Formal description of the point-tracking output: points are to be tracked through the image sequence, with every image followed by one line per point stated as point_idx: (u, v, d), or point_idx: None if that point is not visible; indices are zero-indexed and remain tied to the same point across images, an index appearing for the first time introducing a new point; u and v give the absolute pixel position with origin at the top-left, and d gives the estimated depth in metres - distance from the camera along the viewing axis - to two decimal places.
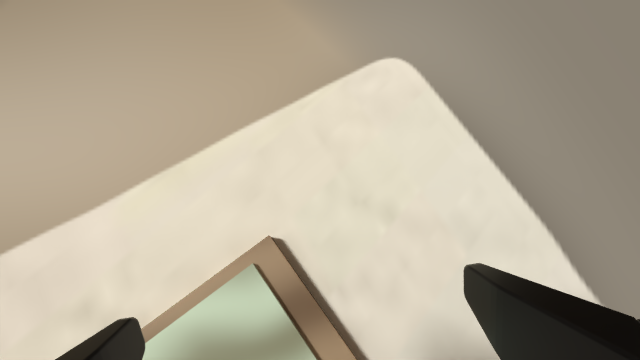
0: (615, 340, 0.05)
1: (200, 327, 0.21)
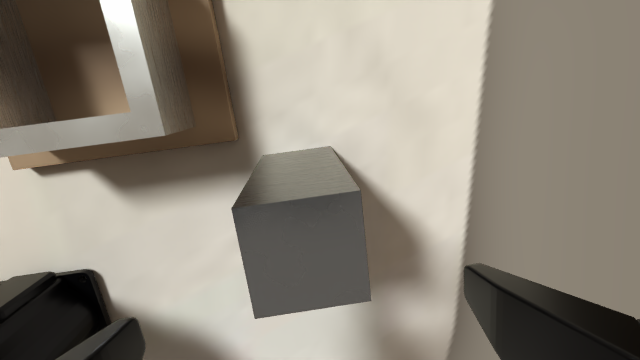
0: (615, 340, 0.05)
1: None
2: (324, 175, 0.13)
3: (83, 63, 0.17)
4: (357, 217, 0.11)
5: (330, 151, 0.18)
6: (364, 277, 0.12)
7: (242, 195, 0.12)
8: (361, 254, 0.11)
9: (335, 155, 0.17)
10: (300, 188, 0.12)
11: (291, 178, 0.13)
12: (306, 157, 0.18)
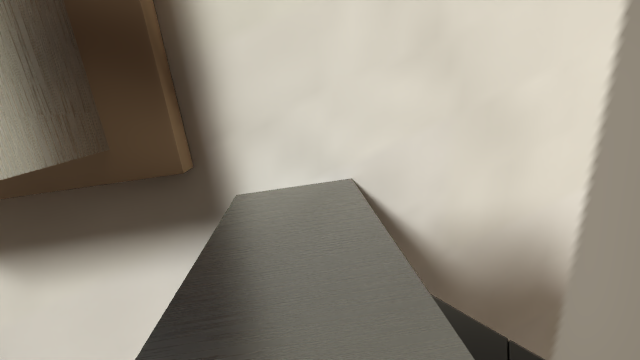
0: None
1: None
2: (367, 305, 0.05)
3: None
4: None
5: (355, 194, 0.10)
6: None
7: None
8: None
9: (369, 208, 0.09)
10: None
11: (278, 308, 0.05)
12: (312, 209, 0.09)
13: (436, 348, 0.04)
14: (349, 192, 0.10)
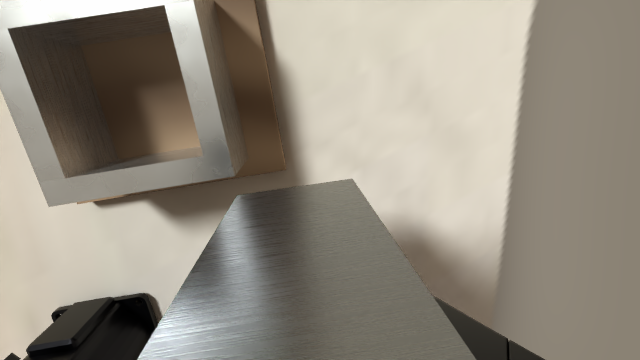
0: None
1: None
2: (368, 305, 0.05)
3: (144, 103, 0.18)
4: None
5: (356, 194, 0.10)
6: None
7: None
8: None
9: (370, 208, 0.09)
10: None
11: (279, 309, 0.05)
12: (313, 209, 0.09)
13: (438, 348, 0.04)
14: (350, 192, 0.10)
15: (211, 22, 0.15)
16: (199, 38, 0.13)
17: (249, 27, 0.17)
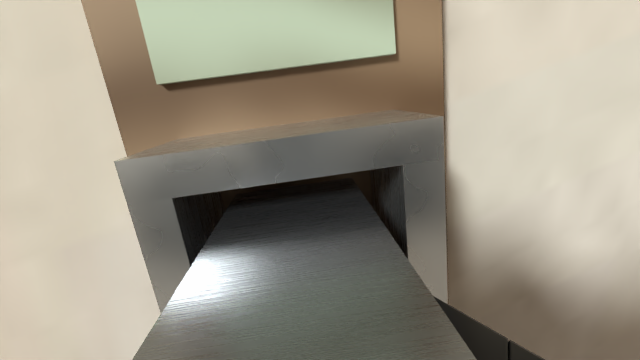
0: None
1: None
2: (367, 303, 0.05)
3: None
4: None
5: (355, 192, 0.10)
6: None
7: None
8: None
9: (369, 207, 0.09)
10: None
11: (277, 306, 0.05)
12: (312, 208, 0.09)
13: (436, 345, 0.04)
14: (349, 191, 0.10)
15: None
16: (441, 207, 0.09)
17: None
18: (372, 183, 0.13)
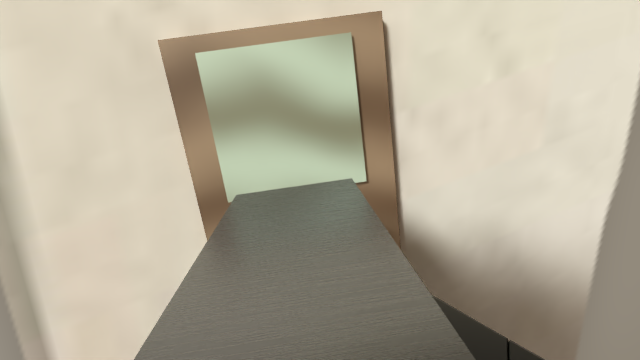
0: None
1: (269, 68, 0.18)
2: (367, 305, 0.05)
3: None
4: None
5: (355, 193, 0.10)
6: None
7: None
8: None
9: (369, 208, 0.09)
10: None
11: (277, 308, 0.05)
12: (312, 209, 0.09)
13: (436, 348, 0.04)
14: (349, 191, 0.10)
15: None
16: None
17: (391, 227, 0.22)
18: None
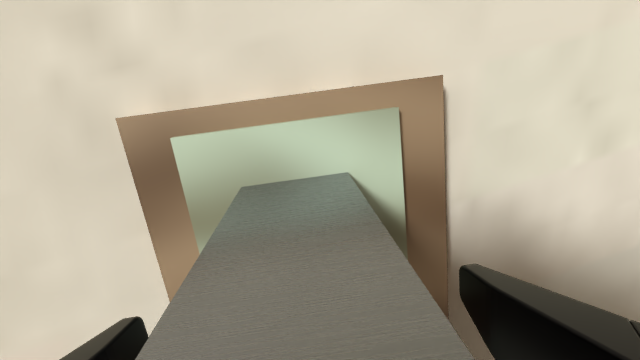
0: (608, 341, 0.05)
1: (278, 158, 0.13)
2: (355, 270, 0.06)
3: None
4: None
5: (350, 185, 0.11)
6: None
7: (148, 351, 0.04)
8: None
9: (362, 197, 0.10)
10: (301, 336, 0.04)
11: (281, 273, 0.06)
12: (311, 198, 0.10)
13: (408, 297, 0.05)
14: (345, 183, 0.11)
15: None
16: None
17: None
18: None
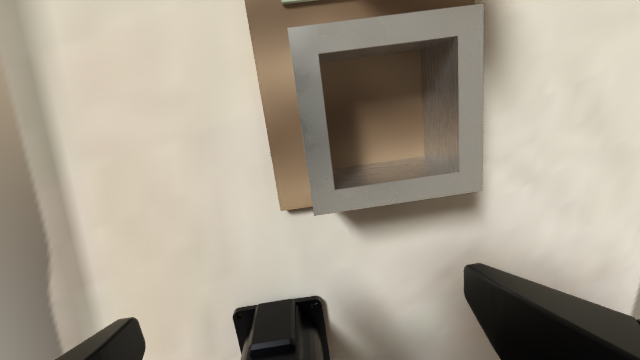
0: (615, 340, 0.05)
1: None
2: None
3: (358, 118, 0.19)
4: None
5: None
6: None
7: None
8: None
9: None
10: None
11: None
12: None
13: None
14: None
15: None
16: (480, 66, 0.15)
17: None
18: (423, 80, 0.19)
